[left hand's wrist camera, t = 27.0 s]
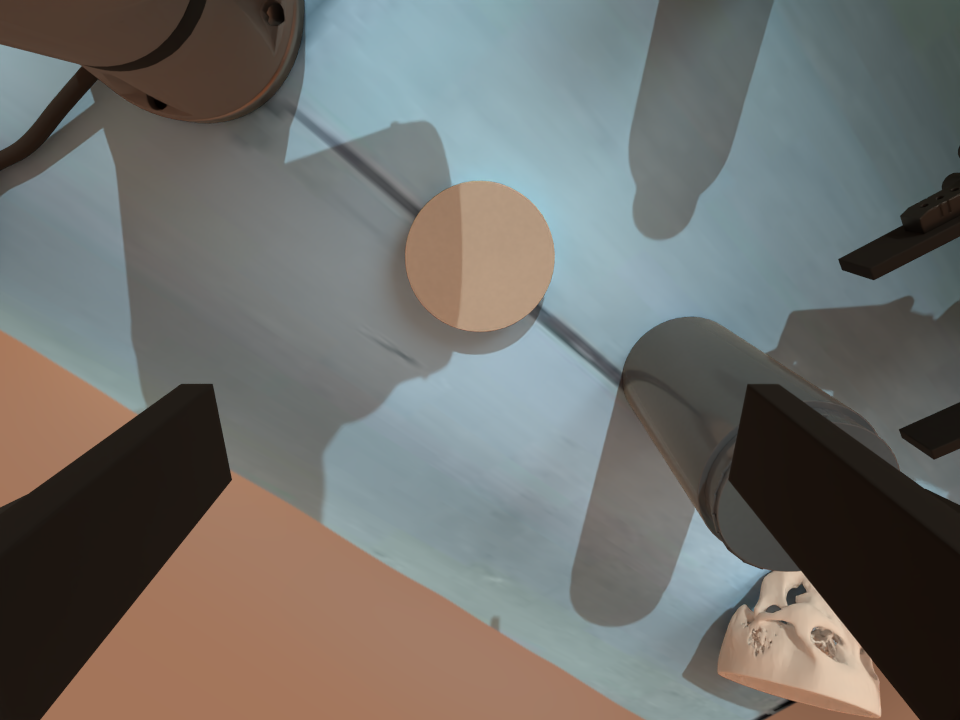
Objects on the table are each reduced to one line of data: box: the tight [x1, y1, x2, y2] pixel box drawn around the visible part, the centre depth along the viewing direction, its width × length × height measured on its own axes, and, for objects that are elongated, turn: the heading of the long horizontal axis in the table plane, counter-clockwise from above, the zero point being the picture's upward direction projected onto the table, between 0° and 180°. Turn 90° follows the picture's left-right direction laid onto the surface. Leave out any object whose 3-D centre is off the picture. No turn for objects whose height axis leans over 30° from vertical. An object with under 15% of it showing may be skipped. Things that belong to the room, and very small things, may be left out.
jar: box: [622, 317, 900, 572], centre depth 34 cm, size 10×10×17 cm
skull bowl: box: [718, 571, 881, 718], centre depth 48 cm, size 10×14×12 cm
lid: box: [405, 181, 555, 332], centre depth 38 cm, size 11×11×2 cm
